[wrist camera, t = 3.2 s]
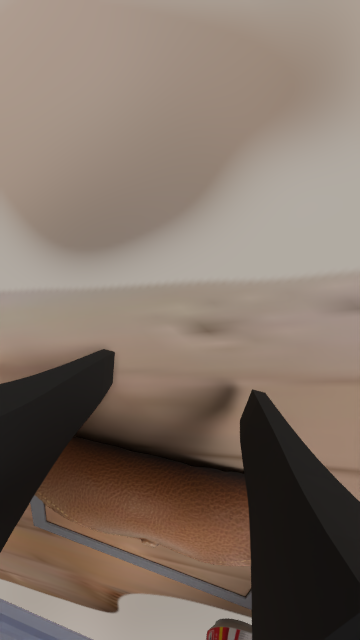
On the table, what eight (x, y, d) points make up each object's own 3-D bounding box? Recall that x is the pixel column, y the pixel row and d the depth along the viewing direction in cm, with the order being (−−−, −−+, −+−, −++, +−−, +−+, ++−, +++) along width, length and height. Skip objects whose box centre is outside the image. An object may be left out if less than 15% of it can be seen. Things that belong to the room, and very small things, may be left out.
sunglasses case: (65, 492, 19) (-10, 564, 12) (82, 412, 20) (22, 438, 13) (271, 548, 16) (315, 678, 9) (276, 451, 17) (318, 507, 11)
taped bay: (310, 544, 15) (311, 546, 15) (256, 609, 20) (256, 611, 19) (22, 445, 18) (21, 447, 17) (34, 524, 22) (33, 525, 22)
